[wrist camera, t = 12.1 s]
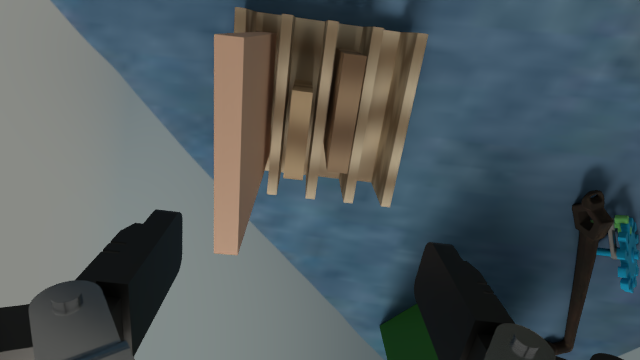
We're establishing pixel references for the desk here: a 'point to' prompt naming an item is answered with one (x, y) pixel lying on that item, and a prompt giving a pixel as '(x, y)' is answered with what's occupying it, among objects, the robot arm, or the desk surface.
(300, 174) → the offcut short
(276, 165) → the rack
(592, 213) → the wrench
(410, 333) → the hardback book
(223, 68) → the tall sheet
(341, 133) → the offcut tall
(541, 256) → the desk surface
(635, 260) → the gear
